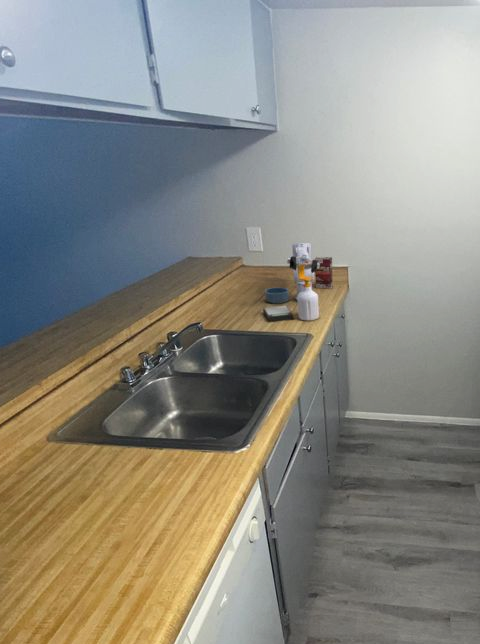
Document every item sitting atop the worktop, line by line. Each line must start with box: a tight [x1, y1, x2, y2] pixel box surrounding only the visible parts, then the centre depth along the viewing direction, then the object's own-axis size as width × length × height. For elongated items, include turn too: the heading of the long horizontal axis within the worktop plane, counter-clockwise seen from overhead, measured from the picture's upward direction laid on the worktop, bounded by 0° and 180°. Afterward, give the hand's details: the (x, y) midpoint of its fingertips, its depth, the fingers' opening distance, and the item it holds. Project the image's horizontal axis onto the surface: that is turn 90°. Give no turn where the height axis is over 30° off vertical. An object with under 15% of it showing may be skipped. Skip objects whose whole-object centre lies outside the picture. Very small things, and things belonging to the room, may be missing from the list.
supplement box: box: [314, 256, 334, 290], centre depth 253 cm, size 9×5×16 cm, turn 81°
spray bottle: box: [296, 262, 320, 322], centre depth 207 cm, size 9×9×25 cm
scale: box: [262, 305, 294, 323], centre depth 214 cm, size 13×11×3 cm
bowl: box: [264, 287, 290, 304], centre depth 234 cm, size 11×11×5 cm
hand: (304, 269), depth 208 cm, fingers open, 7 cm apart
